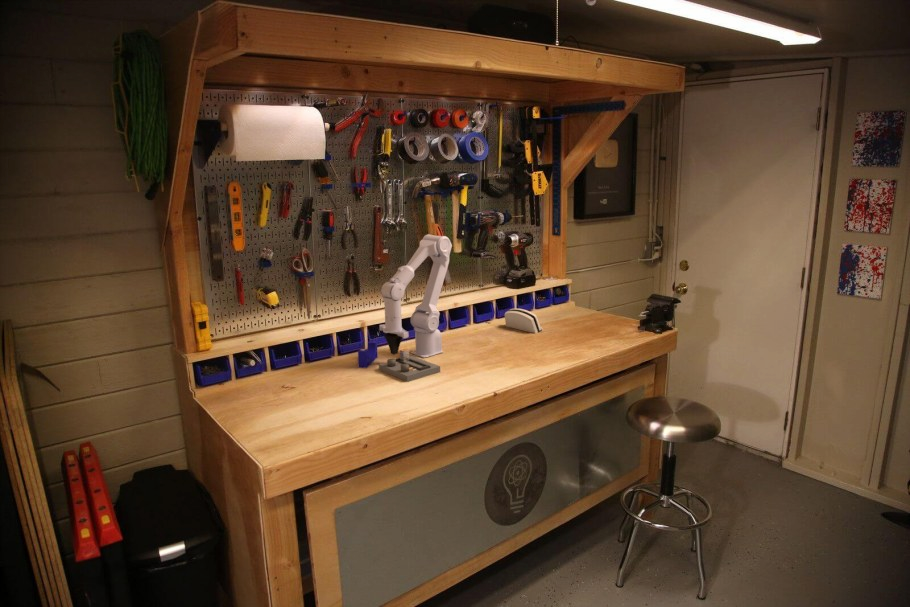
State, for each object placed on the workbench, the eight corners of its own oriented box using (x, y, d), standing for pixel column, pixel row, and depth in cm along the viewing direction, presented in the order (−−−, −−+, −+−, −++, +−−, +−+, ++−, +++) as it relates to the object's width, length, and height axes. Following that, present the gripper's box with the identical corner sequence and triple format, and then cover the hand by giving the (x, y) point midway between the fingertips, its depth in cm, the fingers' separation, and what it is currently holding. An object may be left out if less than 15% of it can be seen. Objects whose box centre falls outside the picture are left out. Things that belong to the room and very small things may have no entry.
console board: (411, 360, 219) (410, 350, 218) (440, 371, 207) (440, 360, 206) (379, 369, 210) (378, 358, 209) (407, 381, 198) (407, 370, 197)
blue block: (365, 356, 225) (365, 341, 223) (377, 357, 224) (376, 341, 222) (354, 367, 213) (353, 351, 212) (366, 368, 212) (366, 351, 211)
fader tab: (406, 359, 214) (405, 348, 213) (409, 360, 212) (409, 349, 211) (400, 361, 212) (399, 349, 211) (403, 362, 211) (403, 351, 210)
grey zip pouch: (543, 331, 255) (539, 310, 251) (537, 336, 252) (532, 316, 248) (513, 323, 267) (508, 304, 262) (506, 329, 264) (501, 309, 260)
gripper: (371, 314, 216) (373, 351, 219) (396, 322, 205) (397, 360, 208) (388, 311, 220) (389, 347, 224) (412, 318, 210) (413, 356, 213)
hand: (394, 353), depth 216 cm, fingers closed
